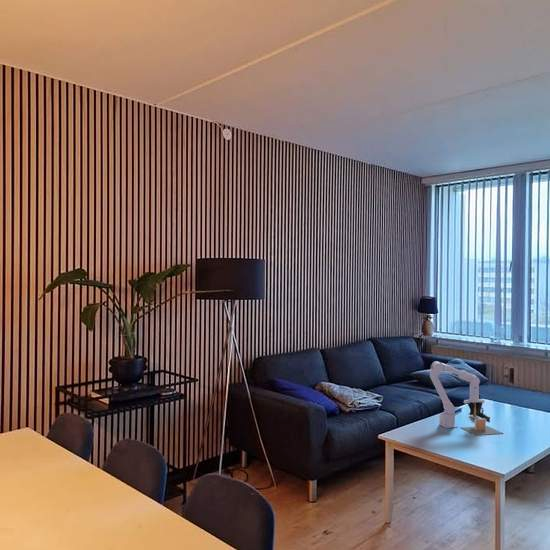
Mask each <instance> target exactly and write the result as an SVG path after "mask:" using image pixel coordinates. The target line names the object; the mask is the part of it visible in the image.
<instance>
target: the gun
mask: <svg viewBox="0 0 550 550" xmlns="http://www.w3.org/2000/svg"><path fill="white" fill-rule="evenodd" d="M479 399H481V394H479ZM483 404H484V403H483V402H482V403H481V406H480V407H479V410H478V413H477V414H476V416H478V418H480V419H483V418H484V419H486V422H489V421H490V420H491V417H490V416H487V415H486V414H484V410H485V409H484V408H483V407H482V406H483ZM468 415H469V416H470V415H473V414H471V411H470V410H469V413H468Z"/></svg>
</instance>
